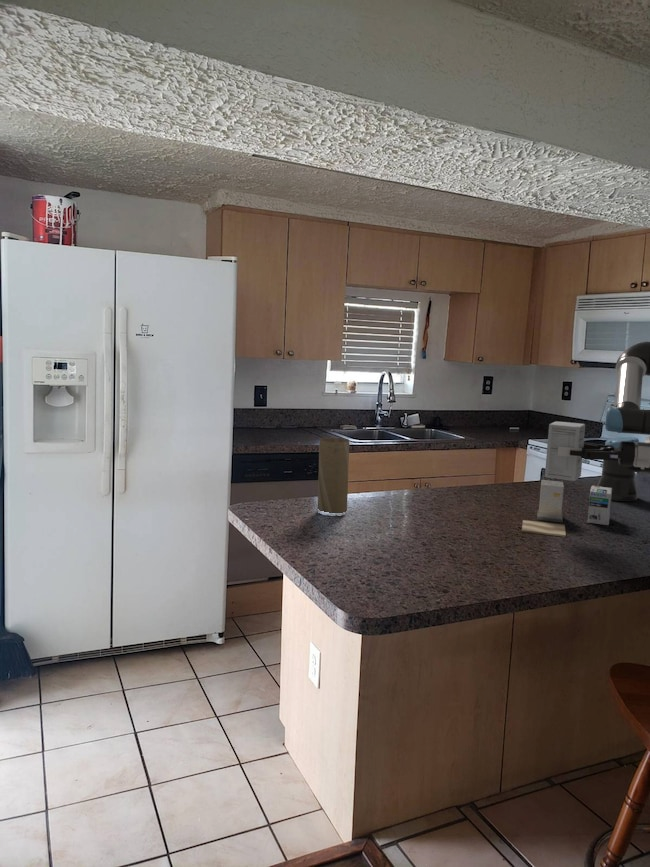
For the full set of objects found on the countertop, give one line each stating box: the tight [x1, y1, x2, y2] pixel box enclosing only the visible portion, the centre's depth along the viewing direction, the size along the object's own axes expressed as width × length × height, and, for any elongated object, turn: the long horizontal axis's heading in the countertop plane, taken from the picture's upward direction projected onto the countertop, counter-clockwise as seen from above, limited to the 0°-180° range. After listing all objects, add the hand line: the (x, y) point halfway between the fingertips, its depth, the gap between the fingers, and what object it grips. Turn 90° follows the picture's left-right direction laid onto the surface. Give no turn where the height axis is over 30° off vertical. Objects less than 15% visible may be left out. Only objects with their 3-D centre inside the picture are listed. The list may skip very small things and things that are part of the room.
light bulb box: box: [587, 485, 612, 526], centre depth 220 cm, size 11×7×11 cm, turn 155°
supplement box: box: [544, 421, 586, 482], centre depth 204 cm, size 10×9×17 cm
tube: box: [317, 436, 350, 513], centre depth 219 cm, size 10×10×25 cm
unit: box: [536, 479, 565, 523], centre depth 221 cm, size 9×8×12 cm
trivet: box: [521, 519, 567, 538], centre depth 209 cm, size 12×13×1 cm
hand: (557, 448), depth 204 cm, fingers closed on supplement box, 11 cm apart
